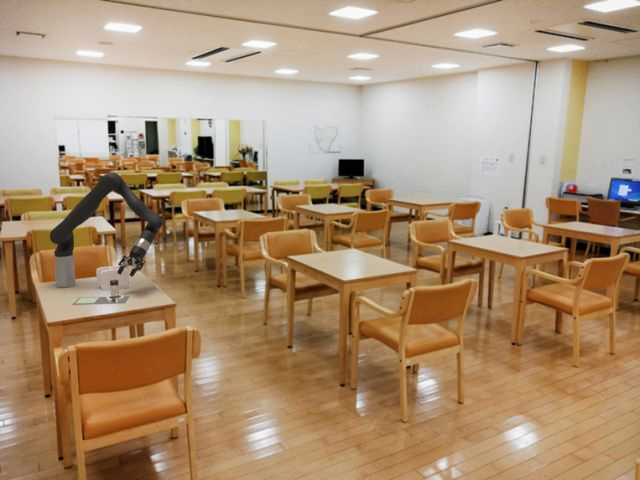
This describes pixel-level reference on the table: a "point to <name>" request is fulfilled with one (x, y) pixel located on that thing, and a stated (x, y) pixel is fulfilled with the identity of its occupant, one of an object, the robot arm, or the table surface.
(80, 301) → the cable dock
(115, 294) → the clear glass bottle
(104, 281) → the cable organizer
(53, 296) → the table surface
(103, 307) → the table surface
